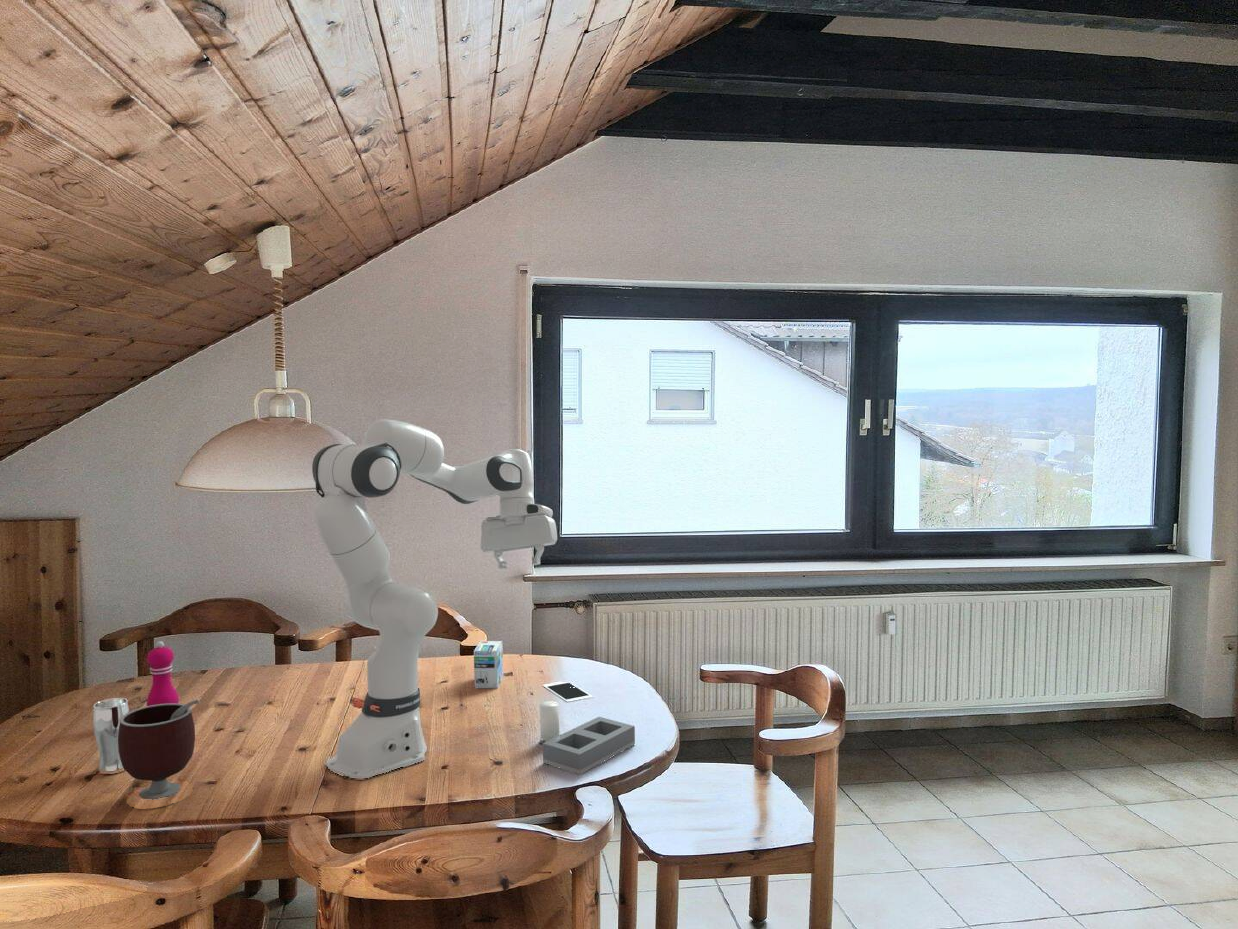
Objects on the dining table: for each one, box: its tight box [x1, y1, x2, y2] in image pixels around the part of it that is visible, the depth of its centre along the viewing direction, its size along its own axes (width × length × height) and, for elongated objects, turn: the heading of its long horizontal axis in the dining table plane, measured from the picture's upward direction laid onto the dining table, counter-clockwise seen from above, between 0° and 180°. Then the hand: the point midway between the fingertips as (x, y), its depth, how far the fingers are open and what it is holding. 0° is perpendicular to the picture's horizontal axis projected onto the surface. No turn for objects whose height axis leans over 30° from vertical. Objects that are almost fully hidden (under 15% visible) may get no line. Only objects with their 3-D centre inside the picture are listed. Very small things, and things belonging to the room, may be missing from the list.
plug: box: [539, 700, 560, 742], centre depth 207 cm, size 4×4×9 cm
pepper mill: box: [146, 640, 180, 706], centre depth 225 cm, size 7×7×20 cm
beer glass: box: [92, 697, 130, 772], centre depth 194 cm, size 7×7×15 cm
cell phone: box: [542, 681, 593, 703], centre depth 244 cm, size 8×16×1 cm, turn 29°
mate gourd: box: [118, 699, 199, 800], centre depth 181 cm, size 16×14×20 cm
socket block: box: [542, 716, 636, 775], centre depth 200 cm, size 20×10×4 cm, turn 143°
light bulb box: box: [473, 640, 504, 689], centre depth 251 cm, size 11×7×11 cm, turn 179°
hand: (519, 566), depth 223 cm, fingers open, 8 cm apart
